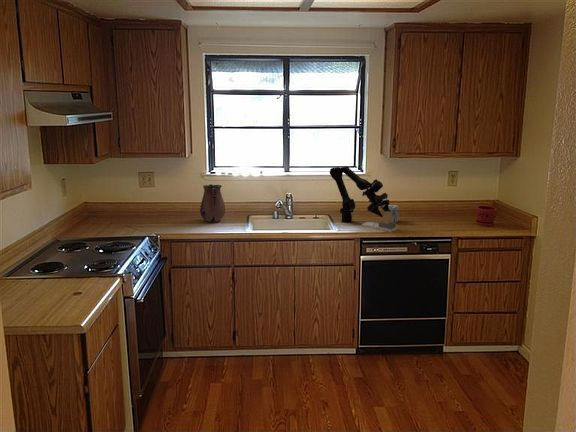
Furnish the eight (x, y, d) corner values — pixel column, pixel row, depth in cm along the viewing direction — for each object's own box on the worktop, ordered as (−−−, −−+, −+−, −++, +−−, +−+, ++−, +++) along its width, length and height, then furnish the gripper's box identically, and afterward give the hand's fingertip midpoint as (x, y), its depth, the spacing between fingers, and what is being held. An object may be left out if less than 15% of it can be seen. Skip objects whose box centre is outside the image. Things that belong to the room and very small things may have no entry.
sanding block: (378, 226, 323) (379, 211, 321) (383, 225, 327) (384, 210, 325) (390, 229, 317) (391, 213, 315) (395, 227, 321) (396, 212, 319)
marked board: (361, 226, 331) (362, 224, 331) (368, 224, 337) (369, 221, 336) (390, 231, 316) (390, 229, 316) (397, 229, 322) (397, 227, 322)
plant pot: (472, 225, 333) (474, 207, 330) (477, 221, 343) (478, 204, 341) (493, 228, 326) (494, 210, 323) (497, 224, 336) (499, 206, 333)
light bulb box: (392, 223, 338) (392, 208, 336) (383, 222, 342) (383, 206, 340) (398, 220, 347) (399, 205, 344) (389, 219, 351) (390, 204, 348)
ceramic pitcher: (221, 217, 359) (219, 182, 354) (230, 223, 341) (229, 187, 335) (197, 219, 352) (195, 184, 346) (205, 225, 333) (204, 189, 328)
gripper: (371, 190, 315) (385, 210, 310) (387, 187, 328) (401, 205, 323) (361, 201, 322) (375, 220, 317) (377, 197, 335) (391, 216, 330)
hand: (386, 215), depth 321 cm, fingers open, 9 cm apart
